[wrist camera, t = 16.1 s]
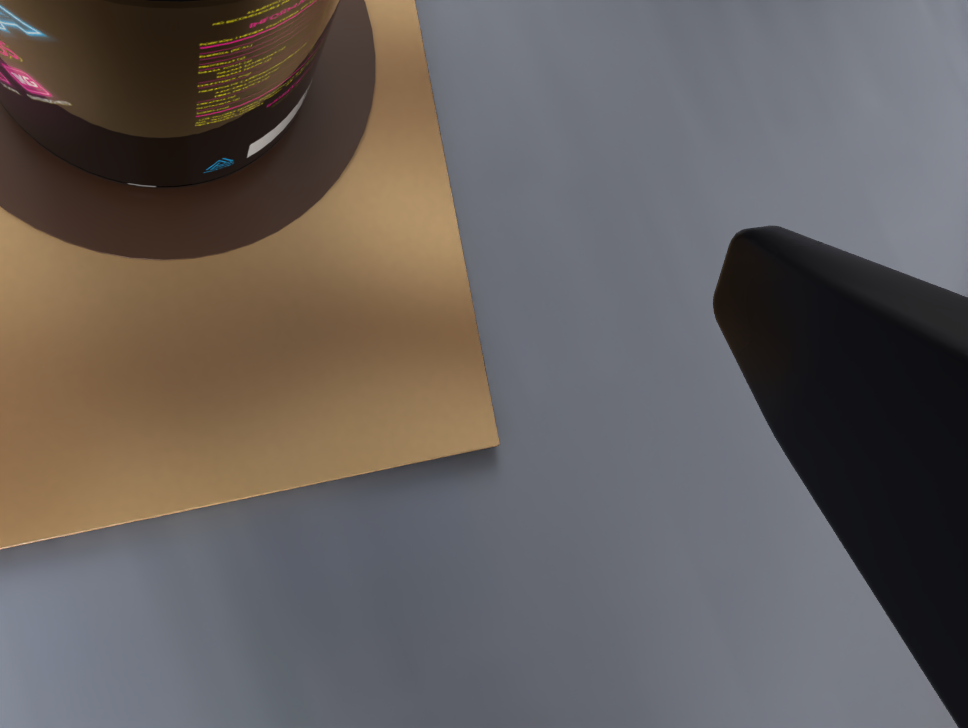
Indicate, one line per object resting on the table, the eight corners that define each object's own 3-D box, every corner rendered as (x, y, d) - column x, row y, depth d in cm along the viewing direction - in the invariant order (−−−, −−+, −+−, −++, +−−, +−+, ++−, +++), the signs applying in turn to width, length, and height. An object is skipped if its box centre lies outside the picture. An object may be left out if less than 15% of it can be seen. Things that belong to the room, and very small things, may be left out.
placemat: (495, 445, 22) (501, 445, 21) (-81, 565, 18) (-88, 567, 17) (341, -360, 23) (344, -376, 22) (-241, -414, 19) (-251, -435, 18)
